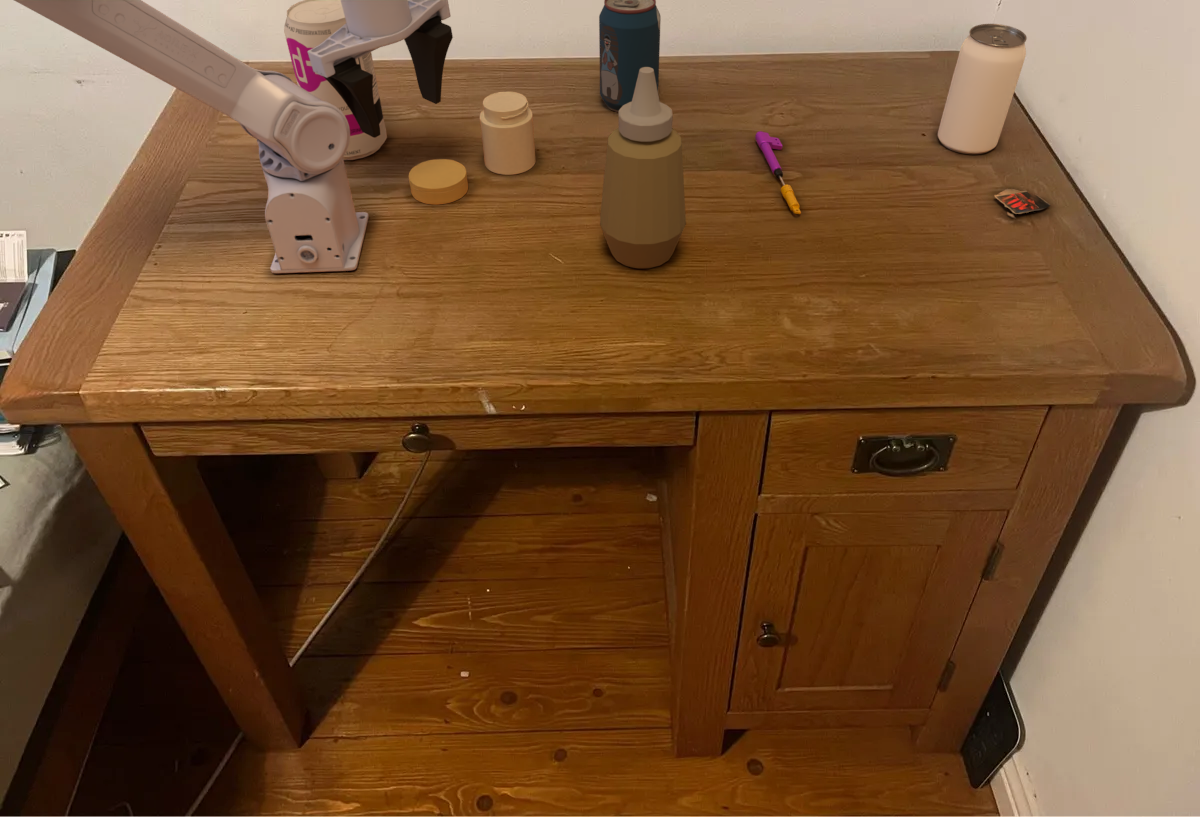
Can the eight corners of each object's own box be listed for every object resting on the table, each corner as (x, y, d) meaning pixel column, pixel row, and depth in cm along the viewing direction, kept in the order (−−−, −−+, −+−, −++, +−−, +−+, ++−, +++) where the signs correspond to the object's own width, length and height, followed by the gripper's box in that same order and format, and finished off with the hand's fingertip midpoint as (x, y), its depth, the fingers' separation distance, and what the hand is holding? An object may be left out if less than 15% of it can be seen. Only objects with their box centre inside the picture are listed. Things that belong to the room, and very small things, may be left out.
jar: (535, 174, 98) (531, 113, 93) (483, 176, 98) (476, 114, 93) (535, 148, 102) (531, 88, 97) (485, 150, 102) (478, 90, 97)
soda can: (662, 92, 112) (666, -9, 103) (651, 119, 107) (654, 15, 98) (607, 87, 113) (607, -14, 104) (593, 112, 108) (592, 9, 100)
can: (990, 128, 104) (1023, 22, 96) (1002, 157, 100) (1038, 48, 91) (932, 126, 105) (960, 20, 96) (941, 154, 100) (971, 46, 92)
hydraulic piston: (752, 138, 103) (790, 217, 92) (756, 128, 102) (794, 207, 91) (774, 141, 103) (814, 220, 92) (778, 132, 103) (819, 210, 91)
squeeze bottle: (677, 282, 84) (689, 96, 72) (592, 272, 85) (588, 88, 73) (689, 233, 90) (701, 53, 77) (608, 224, 91) (607, 46, 78)
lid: (413, 175, 98) (410, 159, 97) (469, 173, 99) (467, 157, 97) (409, 206, 94) (406, 189, 93) (467, 203, 94) (465, 187, 93)
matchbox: (1053, 206, 92) (1055, 202, 92) (1019, 222, 90) (1021, 218, 90) (1015, 186, 95) (1016, 182, 95) (982, 201, 93) (983, 197, 93)
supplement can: (348, 170, 99) (317, 32, 89) (299, 148, 103) (263, 13, 92) (403, 141, 104) (379, 6, 93) (353, 120, 107) (325, -12, 97)
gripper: (402, -66, 84) (431, 74, 94) (270, -9, 77) (316, 135, 87) (453, -49, 81) (478, 94, 91) (319, 12, 74) (362, 159, 84)
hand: (402, 116), depth 89 cm, fingers open, 7 cm apart
